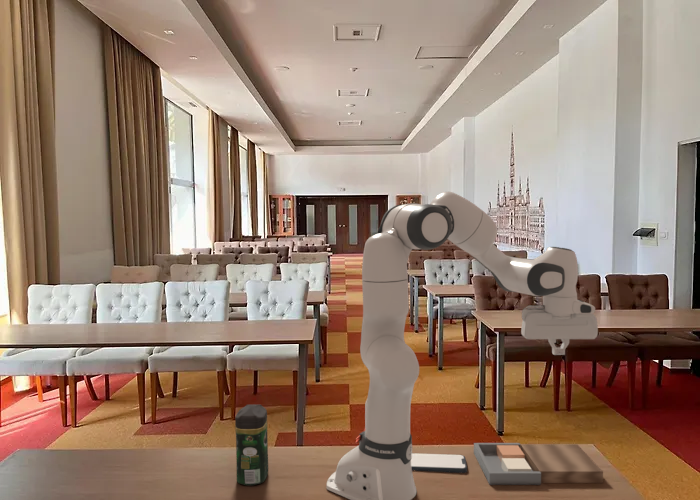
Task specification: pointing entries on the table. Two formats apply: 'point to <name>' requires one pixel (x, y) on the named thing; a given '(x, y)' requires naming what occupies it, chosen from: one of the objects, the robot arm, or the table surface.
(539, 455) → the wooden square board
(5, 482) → the table surface
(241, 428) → the coffee jar
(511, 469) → the cream tile
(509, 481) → the box
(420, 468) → the phone case
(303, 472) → the table surface
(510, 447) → the terracotta tile
